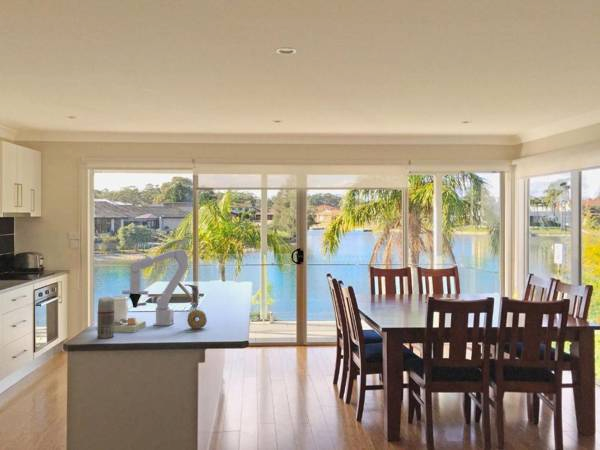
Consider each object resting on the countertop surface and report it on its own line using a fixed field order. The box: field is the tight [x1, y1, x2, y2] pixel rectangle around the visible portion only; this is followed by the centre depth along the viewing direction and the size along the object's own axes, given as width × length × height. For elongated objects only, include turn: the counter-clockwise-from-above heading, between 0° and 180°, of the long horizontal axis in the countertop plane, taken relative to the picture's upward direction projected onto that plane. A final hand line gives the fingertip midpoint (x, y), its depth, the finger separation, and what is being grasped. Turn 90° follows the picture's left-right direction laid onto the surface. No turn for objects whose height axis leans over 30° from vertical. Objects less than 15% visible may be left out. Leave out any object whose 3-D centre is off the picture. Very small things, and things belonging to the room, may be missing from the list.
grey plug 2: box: [120, 317, 128, 323], centre depth 299 cm, size 4×4×4 cm
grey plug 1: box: [114, 321, 122, 326], centre depth 291 cm, size 4×4×4 cm
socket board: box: [114, 320, 147, 333], centre depth 294 cm, size 15×15×3 cm
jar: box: [110, 295, 129, 321], centre depth 310 cm, size 11×10×15 cm
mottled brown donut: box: [187, 309, 208, 330], centre depth 295 cm, size 10×4×10 cm, turn 87°
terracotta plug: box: [127, 317, 137, 325], centre depth 292 cm, size 4×4×4 cm
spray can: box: [96, 296, 115, 339], centre depth 275 cm, size 8×8×20 cm
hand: (135, 307), depth 302 cm, fingers closed
